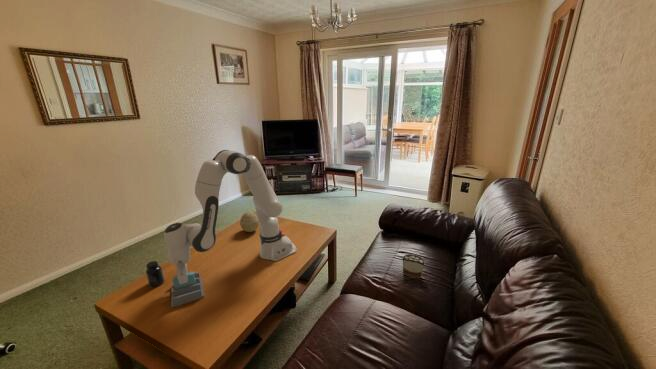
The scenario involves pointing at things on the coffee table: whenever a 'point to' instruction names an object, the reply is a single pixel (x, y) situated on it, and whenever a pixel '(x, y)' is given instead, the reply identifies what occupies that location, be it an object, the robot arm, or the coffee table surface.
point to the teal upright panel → (190, 282)
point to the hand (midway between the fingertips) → (185, 280)
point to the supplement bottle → (154, 274)
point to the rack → (187, 292)
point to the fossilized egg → (249, 222)
